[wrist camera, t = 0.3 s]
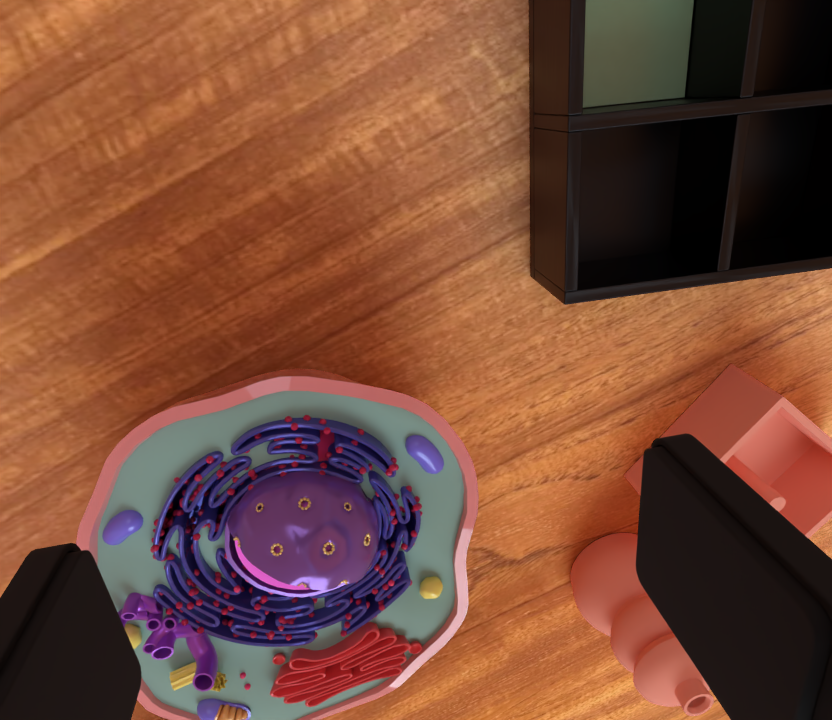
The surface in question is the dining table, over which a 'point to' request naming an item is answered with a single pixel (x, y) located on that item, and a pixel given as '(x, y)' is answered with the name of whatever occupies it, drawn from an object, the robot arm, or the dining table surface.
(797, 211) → the black compartment tray
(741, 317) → the dining table surface
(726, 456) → the pottery
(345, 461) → the cell model
